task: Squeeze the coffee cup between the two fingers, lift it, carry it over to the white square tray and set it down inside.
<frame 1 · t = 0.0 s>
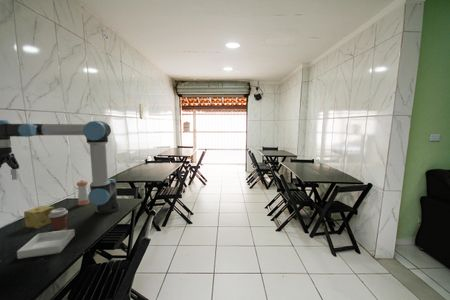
hand: (6, 182, 119), 28 cm above the table, fingers open, 13 cm apart
coffee cup: (59, 229, 120), on the table
salt shaker: (83, 203, 160), on the table
white square tray: (49, 245, 104), on the table
cheese: (40, 224, 126), on the table
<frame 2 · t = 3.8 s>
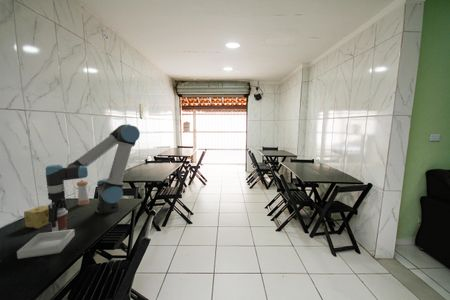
hand: (59, 227, 120), 1 cm above the table, fingers closed on coffee cup, 9 cm apart
coffee cup: (59, 229, 120), on the table, touching gripper
everything else where it was.
when the fingers open (3 cm above the table, at t = 9.0 s): coffee cup drops 2 cm, resting on white square tray.
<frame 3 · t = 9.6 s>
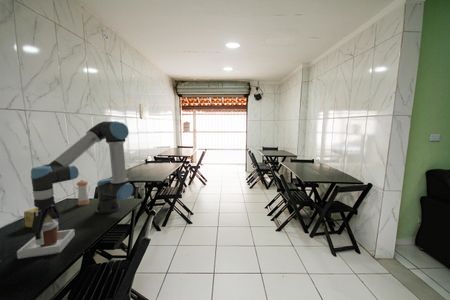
hand: (48, 237, 103), 5 cm above the table, fingers open, 13 cm apart
coffee cup: (49, 244, 104), resting on white square tray
everything else where it was.
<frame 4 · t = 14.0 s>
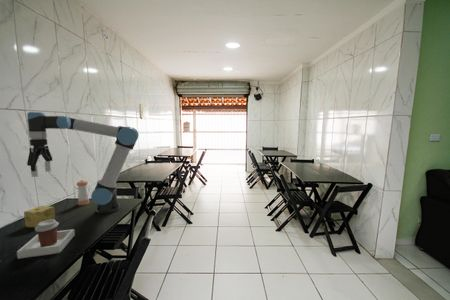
hand: (42, 173, 121), 33 cm above the table, fingers open, 13 cm apart
nothing on the table moved.
at the end: coffee cup inside the target area on the white square tray (0.2 cm from its centre), point 0.4 cm above the white square tray's base; coffee cup tilted 0°; the gripper is holding nothing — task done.
